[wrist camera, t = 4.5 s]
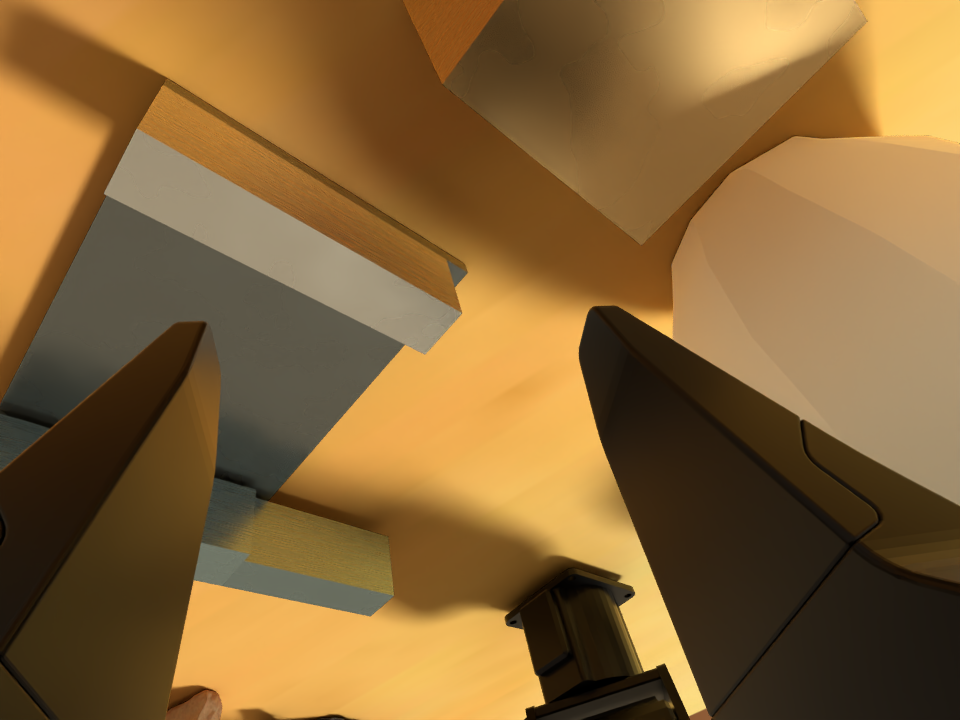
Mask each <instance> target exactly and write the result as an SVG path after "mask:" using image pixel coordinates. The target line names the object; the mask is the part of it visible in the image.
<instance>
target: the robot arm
mask: <svg viewBox="0 0 960 720" xmlns="http://www.w3.org/2000/svg"><path fill="white" fill-rule="evenodd" d="M579 362H580V366H581V370H582V373H583V377H584V381H585V385H586V389H587V392H588V396H589V400H590V404H591V408H592V411H593V415H594V419H595V423H596V427H597V430H598V434H599V437H600V440H601V443H602V446H603V449H604V451H605V454H606V457H607V459H608V462H609V464H610V467H611V469H612V472H613V474H614V477H615V479H616V482H617V484H618V487H619V489H620V492H621V494H622V497H623V499H624V502H625V504H626V507H627V509H628V512H629V514H630V517H631V519H632V522H633V525H634V527H635V530H636V532H637V535H638V537H639V540H640V542H641V545H642V547H643V550H644V552H645V555H646V557H647V560H648V562H649V565H650V567H651V570H652V572H653V575H654V577H655V580H656V582H657V585H658V587H659V590H660V592H661V595H662V598H663V600H664V603H665V605H666V608H667V610H668V613H669V615H670V618H671V620H672V623H673V625H674V628H675V630H676V633H677V635H678V638H679V640H680V643H681V645H682V648H683V650H684V653H685V655H686V658H687V660H688V663H689V665H690V668H691V671H692V673H693V676H694V678H695V681H696V683H697V686H698V688H699V691H700V693H701V696H702V698H703V701H704V703H705V706H706V708H707V711H708V713H709V715H710V716H711V717H712V719H711V720H960V505H958V504H956V503H954V502H952V501H950V500H948V499H946V498H944V497H943V496H941V495H939V494H937V493H935V492H933V491H931V490H929V489H927V488H925V487H924V486H922V485H920V484H918V483H916V482H914V481H912V480H910V479H908V478H906V477H905V476H903V475H901V474H899V473H897V472H895V471H893V470H891V469H890V468H888V467H886V466H884V465H882V464H880V463H879V462H877V461H875V460H873V459H871V458H869V457H867V456H866V455H864V454H862V453H860V452H858V451H857V450H855V449H853V448H852V447H850V446H848V445H846V444H845V443H843V442H841V441H840V440H838V439H836V438H834V437H833V436H831V435H829V434H828V433H826V432H824V431H823V430H821V429H819V428H818V427H816V426H814V425H813V424H811V423H810V422H808V421H806V420H804V419H802V420H800V417H799V416H798V415H796V414H794V413H793V412H791V411H790V410H788V409H786V408H785V407H783V406H781V405H780V404H778V403H776V402H775V401H773V400H771V399H770V398H768V397H766V396H765V395H763V394H761V393H760V392H758V391H756V390H755V389H753V388H752V387H750V386H748V385H747V384H745V383H743V382H742V381H740V380H738V379H737V378H735V377H733V376H732V375H730V374H728V373H727V372H725V371H723V370H722V369H720V368H719V367H717V366H715V365H714V364H712V363H710V362H709V361H707V360H705V359H704V358H702V357H700V356H699V355H697V354H695V353H694V352H692V351H690V350H689V349H687V348H685V347H684V346H682V345H681V344H679V343H677V342H676V341H674V340H672V339H671V338H669V337H667V336H666V335H664V334H662V333H661V332H659V331H657V330H656V329H654V328H652V327H651V326H649V325H647V324H646V323H644V322H643V321H641V320H639V319H638V318H636V317H634V316H633V315H631V314H629V313H628V312H626V311H624V310H623V309H621V308H619V307H618V306H594V307H592V308H591V309H590V310H589V312H588V314H587V318H586V322H585V326H584V330H583V334H582V338H581V342H580V346H579ZM220 389H221V371H220V365H219V360H218V356H217V351H216V347H215V342H214V338H213V334H212V330H211V327H210V325H209V324H208V322H206V321H180V322H176V323H174V324H173V325H172V326H170V327H169V328H168V329H167V330H166V331H165V332H163V333H162V334H161V335H160V336H159V337H158V338H156V339H155V340H154V341H153V342H152V343H150V344H149V345H148V346H147V347H146V348H145V349H143V350H142V351H141V352H140V353H139V354H138V355H136V356H135V357H134V358H133V359H132V360H130V361H129V362H128V363H127V364H126V365H125V366H123V367H122V368H121V369H120V370H119V371H118V372H116V373H115V374H114V375H113V376H112V377H110V378H109V379H108V380H107V381H106V382H105V383H103V384H102V385H101V386H100V387H99V388H98V389H96V390H95V391H94V392H93V393H92V394H90V395H89V396H88V397H87V398H86V399H85V400H83V401H82V402H81V403H80V404H79V405H78V406H76V407H75V408H74V409H73V410H72V411H70V412H69V413H68V414H67V415H66V416H65V417H63V418H62V419H61V420H60V421H59V422H57V423H56V424H55V425H54V426H53V427H52V428H50V429H49V430H48V431H47V432H46V433H45V434H43V435H42V436H41V437H40V438H39V439H37V440H36V441H35V442H34V443H33V444H32V445H30V446H29V447H28V448H27V449H26V450H25V451H23V452H22V453H21V454H20V455H19V456H17V457H16V458H15V459H14V460H13V461H12V462H10V463H9V464H8V465H7V466H6V467H5V468H3V469H2V470H1V471H0V720H165V718H166V713H167V708H168V703H169V698H170V693H171V688H172V683H173V678H174V674H175V669H176V664H177V659H178V654H179V649H180V644H181V639H182V634H183V629H184V624H185V620H186V615H187V610H188V605H189V600H190V595H191V590H192V585H193V580H194V575H195V570H196V566H197V561H198V556H199V551H200V546H201V541H202V536H203V531H204V526H205V521H206V516H207V512H208V507H209V502H210V497H211V492H212V487H213V481H214V475H215V464H216V453H217V437H218V421H219V405H220ZM634 595H635V592H634V590H633V587H632V586H629V585H626V584H623V583H619V582H616V581H613V580H610V579H607V578H604V577H601V576H598V575H595V574H591V573H588V572H585V571H582V570H579V569H576V568H570V569H567V570H566V571H564V572H563V573H561V574H560V575H559V576H558V577H556V578H555V579H554V580H552V581H551V582H550V583H548V584H547V585H546V586H544V587H543V588H542V589H540V590H539V591H538V592H536V593H535V594H534V595H532V596H531V597H530V598H529V599H527V600H526V601H525V602H523V603H522V604H521V605H519V606H518V607H517V608H515V609H514V610H513V611H511V612H510V613H509V614H507V615H506V616H505V622H506V625H507V626H510V627H515V628H519V629H523V630H524V633H525V637H526V641H527V645H528V649H529V652H530V656H531V660H532V664H533V668H534V672H535V674H536V675H537V676H538V677H539V681H540V685H541V689H542V692H543V696H544V700H545V704H544V705H541V706H538V707H534V706H532V707H529V708H526V709H525V710H526V716H527V718H526V719H524V720H690V718H689V716H688V714H687V712H686V709H685V707H684V705H683V703H682V701H681V698H680V696H679V694H678V692H677V689H676V687H675V685H674V683H673V681H672V678H671V676H670V674H669V672H668V669H667V667H666V665H665V664H662V665H659V666H656V668H655V669H652V670H649V671H646V672H644V671H643V668H642V666H641V663H640V660H639V658H638V655H637V653H636V650H635V647H634V645H633V642H632V640H631V637H630V634H629V632H628V629H627V627H626V624H625V621H624V619H623V616H622V613H621V611H620V608H619V606H620V605H622V604H623V603H625V602H626V601H628V600H629V599H631V598H632V597H633V596H634Z"/></svg>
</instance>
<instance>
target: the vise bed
mask: <svg viewBox="0 0 960 720" xmlns="http://www.w3.org/2000/svg"><path fill="white" fill-rule="evenodd" d="M163 85H164V86H166V87H167V88H169V89H171V90H172V91H174V92H175V93H177V94H179V95H180V96H182V97H184V98H185V99H187V100H188V101H190V102H192V103H193V104H195V105H197V106H198V107H200V108H201V109H203V110H205V111H206V112H208V113H210V114H211V115H213V116H214V117H216V118H218V119H219V120H221V121H222V122H224V123H226V124H227V125H229V126H231V127H232V128H234V129H235V130H237V131H239V132H240V133H242V134H244V135H245V136H247V137H248V138H250V139H252V140H253V141H255V142H257V143H258V144H260V145H261V146H263V147H265V148H266V149H268V150H270V151H271V152H273V153H274V154H276V155H278V156H279V157H281V158H282V159H284V160H286V161H287V162H289V163H291V164H292V165H294V166H295V167H297V168H299V169H300V170H302V171H304V172H305V173H307V174H308V175H310V176H312V177H313V178H315V179H317V180H318V181H320V182H321V183H323V184H325V185H326V186H328V187H329V188H331V189H333V190H334V191H336V192H338V193H339V194H341V195H342V196H344V197H346V198H347V199H349V200H351V201H352V202H354V203H355V204H357V205H359V206H360V207H362V208H364V209H365V210H367V211H368V212H370V213H372V214H373V215H375V216H377V217H378V218H380V219H381V220H383V221H385V222H386V223H388V224H389V225H391V226H393V227H394V228H396V229H398V230H399V231H401V232H402V233H404V234H406V235H407V236H409V237H411V238H412V239H414V240H415V241H417V242H419V243H420V244H422V245H424V246H425V247H427V248H428V249H430V250H432V251H433V252H435V253H436V254H438V255H440V256H441V257H443V258H445V259H446V260H447V263H448V266H449V270H450V273H451V276H452V280H453V283H454V287H456V286H457V284H458V283H459V282H460V281H461V280H462V279H463V278H464V276H465V275H466V274H467V273H468V272H467V269H466V266H465V264H464V263H462V262H461V261H459V260H457V259H456V258H454V257H453V256H451V255H449V254H448V253H446V252H445V251H443V250H441V249H440V248H438V247H436V246H435V245H433V244H432V243H430V242H428V241H427V240H425V239H424V238H422V237H420V236H419V235H417V234H416V233H414V232H412V231H411V230H409V229H408V228H406V227H404V226H403V225H401V224H400V223H398V222H396V221H395V220H393V219H392V218H390V217H388V216H387V215H385V214H384V213H382V212H380V211H379V210H377V209H376V208H374V207H372V206H371V205H369V204H368V203H366V202H364V201H363V200H361V199H360V198H358V197H356V196H355V195H353V194H352V193H350V192H348V191H347V190H345V189H344V188H342V187H340V186H339V185H337V184H336V183H334V182H332V181H331V180H329V179H328V178H326V177H324V176H323V175H321V174H320V173H318V172H316V171H315V170H313V169H312V168H310V167H308V166H307V165H305V164H304V163H302V162H300V161H299V160H297V159H296V158H294V157H292V156H291V155H289V154H288V153H286V152H284V151H283V150H281V149H280V148H278V147H276V146H275V145H273V144H272V143H270V142H268V141H267V140H265V139H264V138H262V137H260V136H259V135H257V134H256V133H254V132H252V131H251V130H249V129H248V128H246V127H244V126H243V125H241V124H240V123H238V122H236V121H235V120H233V119H232V118H230V117H228V116H227V115H225V114H224V113H222V112H220V111H219V110H217V109H216V108H214V107H212V106H211V105H209V104H208V103H206V102H204V101H203V100H201V99H200V98H198V97H196V96H195V95H193V94H191V93H190V92H188V91H187V90H185V89H183V88H182V87H180V86H179V85H177V84H175V83H174V82H172V81H171V80H169V79H166V81H165V82H164V84H163ZM180 321H206V322H208V324H209V325H210V327H211V330H212V334H213V338H214V342H215V347H216V351H217V356H218V360H219V365H220V371H221V389H220V405H219V421H218V437H217V453H216V464H215V475H214V478H218V479H221V480H224V481H228V482H231V483H234V484H238V485H241V486H244V487H248V488H251V489H254V490H256V497H255V498H258V499H261V500H265V501H269V500H270V499H271V497H272V496H273V495H274V494H275V493H276V492H277V490H278V489H279V488H280V487H281V486H282V485H283V484H284V482H285V481H286V480H287V479H288V478H289V477H290V476H291V474H292V473H293V472H294V471H295V470H296V469H297V468H298V466H299V465H300V464H301V463H302V462H303V461H304V460H305V458H306V457H307V456H308V455H309V454H310V453H311V452H312V450H313V449H314V448H315V447H316V446H317V445H318V444H319V442H320V441H321V440H322V439H323V438H324V437H325V436H326V434H327V433H328V432H329V431H330V430H331V429H332V428H333V426H334V425H335V424H336V423H337V422H338V421H339V419H340V418H341V417H342V416H343V415H344V414H345V413H346V411H347V410H348V409H349V408H350V407H351V406H352V405H353V403H354V402H355V401H356V400H357V399H358V398H359V397H360V395H361V394H362V393H363V392H364V391H365V390H366V389H367V387H368V386H369V385H370V384H371V383H372V382H373V381H374V379H375V378H376V377H377V376H378V375H379V374H380V373H381V371H382V370H383V369H384V368H385V367H386V366H387V365H388V363H389V362H390V361H391V360H392V359H393V358H394V357H395V355H396V354H397V353H398V352H399V351H400V350H401V349H402V347H403V346H404V345H405V344H403V343H401V342H399V341H397V340H395V339H393V338H391V337H389V336H387V335H385V334H383V333H381V332H379V331H377V330H375V329H373V328H371V327H369V326H367V325H365V324H363V323H361V322H359V321H357V320H355V319H353V318H351V317H349V316H347V315H345V314H343V313H341V312H339V311H337V310H335V309H333V308H331V307H329V306H327V305H325V304H323V303H321V302H319V301H317V300H315V299H313V298H311V297H309V296H307V295H305V294H303V293H301V292H299V291H297V290H295V289H293V288H291V287H289V286H287V285H285V284H283V283H281V282H279V281H277V280H275V279H273V278H271V277H269V276H267V275H265V274H263V273H261V272H259V271H257V270H255V269H253V268H251V267H249V266H247V265H245V264H243V263H241V262H239V261H237V260H235V259H233V258H231V257H229V256H227V255H225V254H223V253H221V252H219V251H217V250H215V249H213V248H211V247H209V246H207V245H205V244H203V243H201V242H199V241H197V240H195V239H193V238H191V237H189V236H187V235H185V234H183V233H181V232H179V231H177V230H175V229H173V228H171V227H169V226H167V225H165V224H163V223H161V222H159V221H157V220H155V219H153V218H151V217H149V216H147V215H145V214H143V213H141V212H139V211H137V210H135V209H133V208H131V207H129V206H127V205H125V204H123V203H121V202H119V201H117V200H115V199H113V198H111V197H109V196H106V198H105V200H104V202H103V204H102V206H101V207H100V209H99V211H98V213H97V215H96V217H95V219H94V221H93V223H92V225H91V227H90V229H89V231H88V233H87V235H86V237H85V239H84V241H83V243H82V245H81V247H80V249H79V251H78V253H77V255H76V256H75V258H74V260H73V262H72V264H71V266H70V268H69V270H68V272H67V274H66V276H65V278H64V280H63V282H62V284H61V286H60V288H59V290H58V292H57V294H56V296H55V298H54V300H53V302H52V304H51V306H50V307H49V309H48V311H47V313H46V315H45V317H44V319H43V321H42V323H41V325H40V327H39V329H38V331H37V333H36V335H35V337H34V339H33V341H32V343H31V345H30V347H29V349H28V351H27V353H26V355H25V356H24V358H23V360H22V362H21V364H20V366H19V368H18V370H17V372H16V374H15V376H14V378H13V380H12V382H11V384H10V386H9V388H8V390H7V392H6V394H5V396H4V398H3V400H2V402H1V404H0V413H1V414H4V415H7V416H11V417H14V418H17V419H21V420H24V421H27V422H31V423H34V424H37V425H41V426H44V427H47V428H52V427H53V426H54V425H55V424H56V423H57V422H59V421H60V420H61V419H62V418H63V417H65V416H66V415H67V414H68V413H69V412H70V411H72V410H73V409H74V408H75V407H76V406H78V405H79V404H80V403H81V402H82V401H83V400H85V399H86V398H87V397H88V396H89V395H90V394H92V393H93V392H94V391H95V390H96V389H98V388H99V387H100V386H101V385H102V384H103V383H105V382H106V381H107V380H108V379H109V378H110V377H112V376H113V375H114V374H115V373H116V372H118V371H119V370H120V369H121V368H122V367H123V366H125V365H126V364H127V363H128V362H129V361H130V360H132V359H133V358H134V357H135V356H136V355H138V354H139V353H140V352H141V351H142V350H143V349H145V348H146V347H147V346H148V345H149V344H150V343H152V342H153V341H154V340H155V339H156V338H158V337H159V336H160V335H161V334H162V333H163V332H165V331H166V330H167V329H168V328H169V327H170V326H172V325H173V324H174V323H176V322H180Z"/></svg>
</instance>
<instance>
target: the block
mask: <svg viewBox="0 0 960 720" xmlns="http://www.w3.org/2000/svg"><path fill="white" fill-rule="evenodd" d="M403 3H404V5H405V7H406V9H407V11H408V13H409V15H410V17H411V19H412V22H413V24H414V26H415V28H416V30H417V32H418V34H419V36H420V38H421V41H422V43H423V45H424V47H425V49H426V51H427V53H428V55H429V58H430V60H431V62H432V64H433V66H434V68H435V70H436V72H437V74H438V77H439V79H440V81H441V83H442V85H443V86H445V87H446V88H447V89H448V90H450V91H451V92H452V93H453V94H455V95H456V96H457V97H458V98H460V99H461V100H462V101H463V102H464V103H466V104H467V105H468V106H469V107H471V108H472V109H473V110H474V111H476V112H477V113H478V114H479V115H481V116H482V117H483V118H484V119H485V120H487V121H488V122H489V123H490V124H492V125H493V126H494V127H495V128H497V129H498V130H499V131H500V132H502V133H503V134H504V135H505V136H507V137H508V138H509V139H510V140H511V141H513V142H514V143H515V144H516V145H518V146H519V147H520V148H521V149H523V150H524V151H525V152H526V153H528V154H529V155H530V156H531V157H532V158H534V159H535V160H536V161H537V162H539V163H540V164H541V165H542V166H544V167H545V168H546V169H547V170H549V171H550V172H551V173H552V174H554V175H555V176H556V177H557V178H558V179H560V180H561V181H562V182H563V183H565V184H566V185H567V186H568V187H570V188H571V189H572V190H573V191H575V192H576V193H577V194H578V195H579V196H581V197H582V198H583V199H584V200H586V201H587V202H588V203H589V204H591V205H592V206H593V207H594V208H596V209H597V210H598V211H599V212H600V213H602V214H603V215H604V216H605V217H607V218H608V219H609V220H610V221H612V222H613V223H614V224H615V225H617V226H618V227H619V228H620V229H622V230H623V231H624V232H625V233H626V234H628V235H629V236H630V237H631V238H633V239H634V240H635V241H636V242H638V243H639V244H640V245H642V244H643V243H644V242H645V241H646V240H647V239H649V238H650V237H651V236H652V235H653V234H654V233H655V232H656V231H657V230H658V229H659V228H660V227H661V226H662V225H663V224H664V223H665V222H666V221H667V220H668V219H669V218H670V217H671V216H672V215H673V214H674V213H675V212H676V211H677V210H678V209H679V208H680V207H681V206H682V205H683V204H684V203H685V202H686V201H687V200H688V199H689V198H690V197H691V196H692V195H693V194H694V193H695V192H696V191H697V190H698V189H699V188H700V187H701V186H702V185H703V184H704V183H705V182H706V181H707V180H708V179H709V178H710V177H711V176H712V175H713V174H714V173H715V172H716V171H717V170H718V169H719V168H720V167H721V166H722V165H723V164H724V163H725V162H726V161H727V160H728V159H729V158H730V157H731V156H732V155H733V154H734V153H735V152H736V151H737V150H738V149H739V148H740V147H741V146H742V145H743V144H744V143H745V142H746V141H747V140H748V139H749V138H750V137H751V136H752V135H753V134H754V133H755V132H756V131H758V130H759V129H760V128H761V127H762V126H763V125H764V124H765V123H766V122H767V121H768V120H769V119H770V118H771V117H772V116H773V115H774V114H775V113H776V112H777V111H778V110H779V109H780V108H781V107H782V106H783V105H784V104H785V103H786V102H787V101H788V100H789V99H790V98H791V97H792V96H793V95H794V94H795V93H796V92H797V91H798V90H799V89H800V88H801V87H802V86H803V85H804V84H805V83H806V82H807V81H808V80H809V79H810V78H811V77H812V76H813V75H814V74H815V73H816V72H817V71H818V70H819V69H820V68H821V67H822V66H823V65H824V64H825V63H826V62H827V61H828V60H829V59H830V58H831V57H832V56H833V55H834V54H835V53H836V52H837V51H838V50H839V49H840V48H841V47H842V46H843V45H844V44H845V43H846V42H847V41H848V40H849V39H850V38H851V37H852V36H853V35H854V34H855V33H856V32H857V31H858V30H859V29H860V28H861V27H862V26H863V25H864V24H865V23H867V22H868V21H867V20H866V18H865V16H864V15H863V13H862V11H861V10H860V8H859V6H858V5H857V3H856V1H855V0H403Z"/></svg>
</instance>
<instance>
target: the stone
mask: <svg viewBox="0 0 960 720" xmlns="http://www.w3.org/2000/svg"><path fill="white" fill-rule="evenodd" d="M221 712H222V703H221V699H220V697H219V694H218V693H216V692H214V691H209V690H204V691H202V692H200V693H198V694H196V695H194V696H193V697H192V698H191V699H190V700H188V701H187V702H185V703H183V704H180V705H178V706H175V707H173V708H171V709H169V711H168V712H167V713H166V718H165V720H220V717H221Z"/></svg>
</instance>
